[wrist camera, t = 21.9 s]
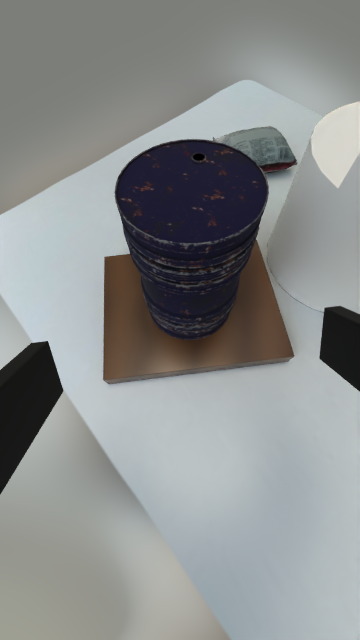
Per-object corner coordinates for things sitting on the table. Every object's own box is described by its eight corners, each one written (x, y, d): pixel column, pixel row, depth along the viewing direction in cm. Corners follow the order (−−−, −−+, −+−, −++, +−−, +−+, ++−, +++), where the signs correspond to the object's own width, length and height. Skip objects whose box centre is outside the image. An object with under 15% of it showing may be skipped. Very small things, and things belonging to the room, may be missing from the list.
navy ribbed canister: (226, 349, 27) (265, 258, 13) (137, 332, 28) (90, 233, 14) (236, 273, 31) (274, 145, 17) (158, 261, 32) (137, 132, 18)
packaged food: (211, 153, 44) (214, 121, 40) (277, 144, 45) (287, 112, 40) (223, 187, 40) (228, 156, 36) (294, 177, 41) (308, 145, 37)
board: (108, 384, 28) (103, 380, 26) (108, 266, 34) (104, 256, 33) (288, 361, 28) (294, 356, 26) (253, 249, 35) (256, 239, 33)
